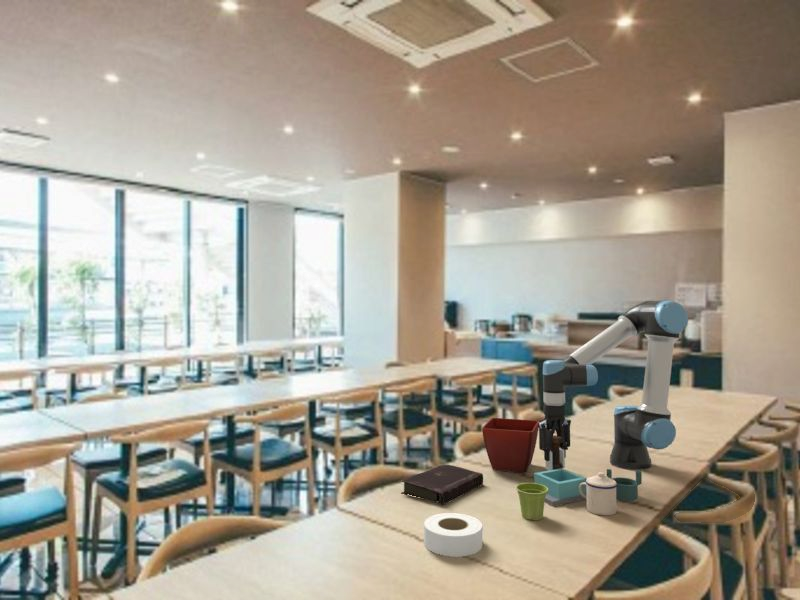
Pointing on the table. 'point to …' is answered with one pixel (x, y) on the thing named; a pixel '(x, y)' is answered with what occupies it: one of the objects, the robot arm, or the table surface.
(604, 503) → the teacup with lid
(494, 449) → the plant pot
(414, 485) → the diary
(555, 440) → the bolt
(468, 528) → the roll of tape
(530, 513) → the plant pot
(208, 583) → the table surface
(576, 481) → the socket
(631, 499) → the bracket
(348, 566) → the table surface
